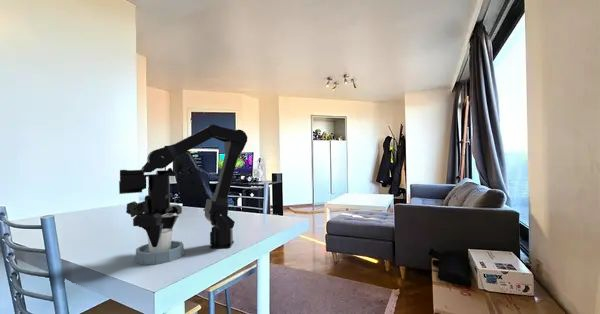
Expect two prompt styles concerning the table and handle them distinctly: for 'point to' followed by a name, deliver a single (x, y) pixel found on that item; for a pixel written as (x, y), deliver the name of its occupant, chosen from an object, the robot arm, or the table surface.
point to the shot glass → (162, 241)
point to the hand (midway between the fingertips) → (160, 243)
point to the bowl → (159, 254)
